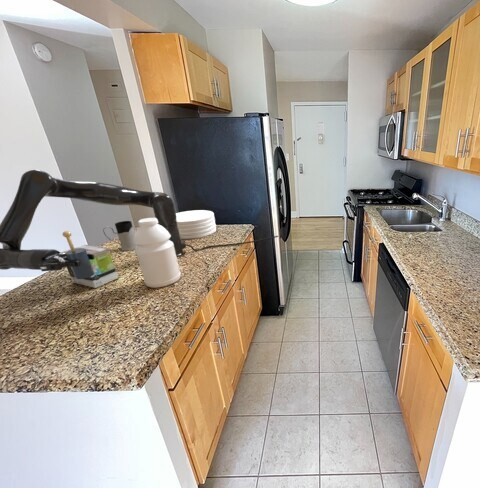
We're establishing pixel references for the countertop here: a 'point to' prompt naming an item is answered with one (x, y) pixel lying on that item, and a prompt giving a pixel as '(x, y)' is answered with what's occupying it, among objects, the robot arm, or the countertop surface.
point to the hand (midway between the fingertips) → (86, 260)
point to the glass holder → (125, 235)
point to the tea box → (97, 267)
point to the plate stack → (195, 223)
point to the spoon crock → (79, 259)
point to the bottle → (156, 254)
